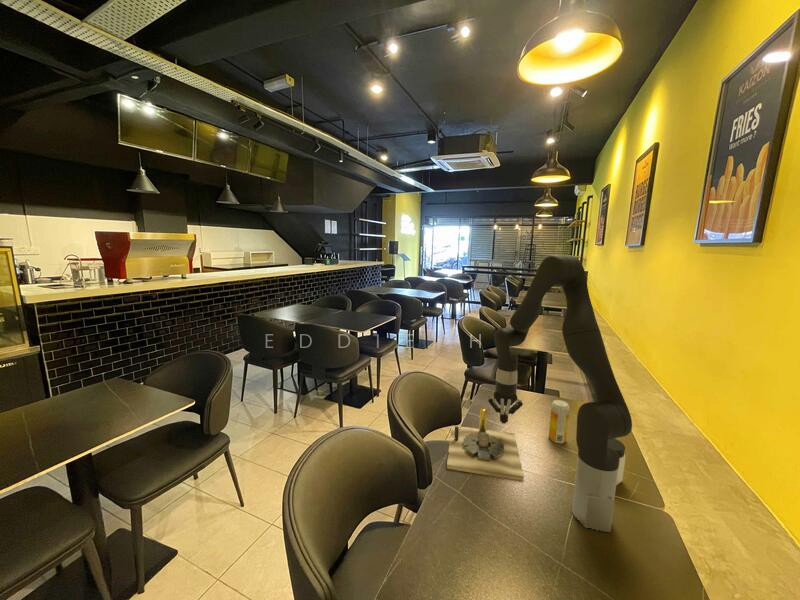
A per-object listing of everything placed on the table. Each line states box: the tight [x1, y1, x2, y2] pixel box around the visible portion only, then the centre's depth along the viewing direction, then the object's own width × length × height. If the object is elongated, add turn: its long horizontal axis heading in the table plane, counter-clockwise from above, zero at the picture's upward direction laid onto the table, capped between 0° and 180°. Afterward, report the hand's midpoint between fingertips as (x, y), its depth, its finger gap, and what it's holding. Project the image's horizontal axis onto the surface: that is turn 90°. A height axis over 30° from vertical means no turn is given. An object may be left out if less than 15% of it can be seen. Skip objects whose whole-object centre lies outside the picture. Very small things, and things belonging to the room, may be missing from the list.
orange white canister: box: [548, 399, 571, 445], centre depth 120 cm, size 6×6×15 cm
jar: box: [608, 438, 627, 486], centre depth 101 cm, size 9×8×12 cm
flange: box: [463, 407, 504, 460], centre depth 115 cm, size 18×14×9 cm
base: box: [446, 425, 525, 482], centre depth 113 cm, size 24×24×6 cm
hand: (503, 422), depth 121 cm, fingers closed
